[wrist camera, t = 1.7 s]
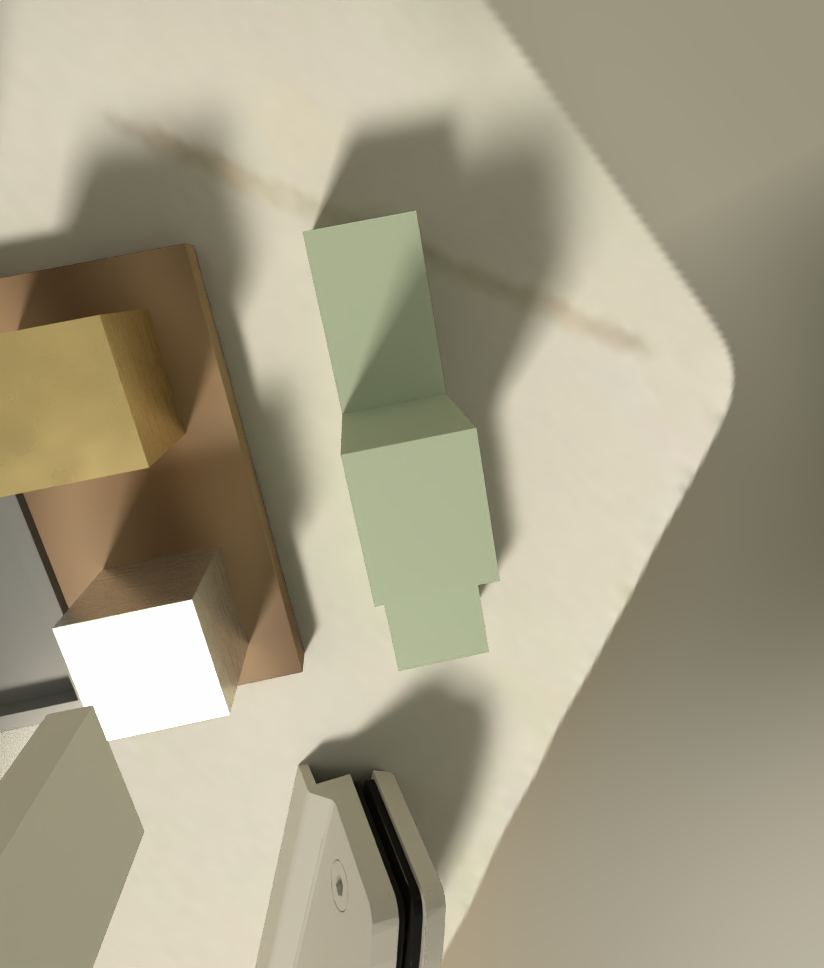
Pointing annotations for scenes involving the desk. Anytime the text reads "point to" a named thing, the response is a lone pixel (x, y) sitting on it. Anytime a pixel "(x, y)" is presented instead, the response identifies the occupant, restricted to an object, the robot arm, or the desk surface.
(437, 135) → the desk surface
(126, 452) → the mustard yellow cube
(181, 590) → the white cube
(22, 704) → the tray
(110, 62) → the desk surface
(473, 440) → the stepped sage beam
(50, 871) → the robot arm
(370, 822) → the white curved block
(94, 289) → the deck
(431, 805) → the desk surface
